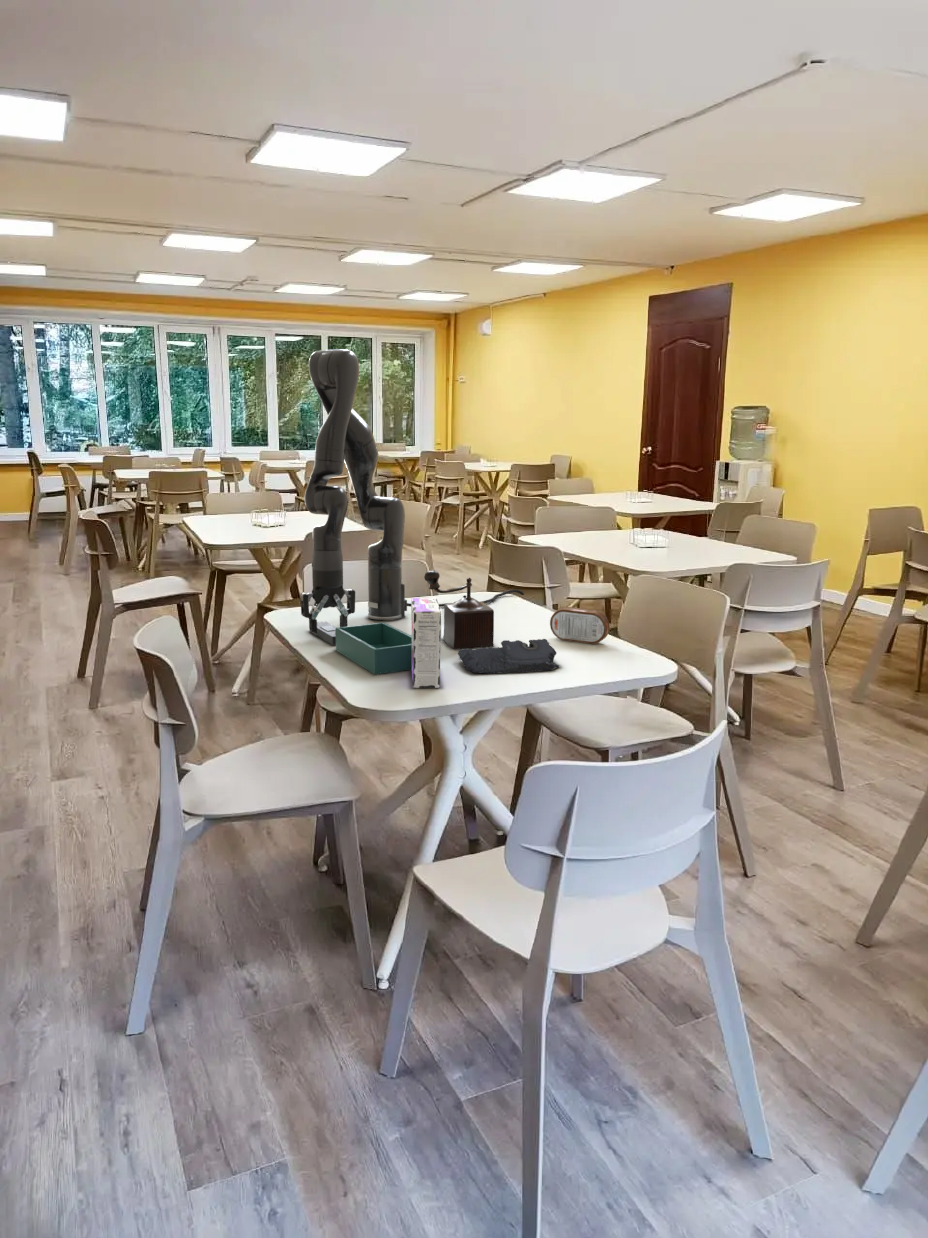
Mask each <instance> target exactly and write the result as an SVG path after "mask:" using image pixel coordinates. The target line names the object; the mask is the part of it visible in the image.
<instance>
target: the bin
mask: <svg viewBox="0 0 928 1238" xmlns="http://www.w3.org/2000/svg"><path fill="white" fill-rule="evenodd" d="M335 651H336V652H338V653H339V654H341V655H342V656H344V657H346V658H347V659H349V660H351V661H352V662H354V663H355V664H357V665H358V666H360V667H362V668H364V669H365V670H367V671H369V672H370V673H372V674H373V675H381V674H382V675H383V674H389V673H397V672H402V671H403V672H404V671H409V670H410V671H411V668H412V667H411V663H412V634H408V633H407V632H405V631H402V630H400V629H398V628H396V627H394V626H392V625H390V624H389V623H386V622H384V621H383V622H374V623H365V624H356V625H349V626H347V627H340V626H337V627H336V645H335Z"/></svg>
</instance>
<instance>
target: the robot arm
mask: <svg viewBox="0 0 928 1238" xmlns="http://www.w3.org/2000/svg"><path fill="white" fill-rule="evenodd" d="M308 371H309V376H310V379H311V382H312V384H313V387H314V389H315V391H316V393H317V395H318V398H319V399H320V402H321V404H322V406H323V408H324V410H325V412H326V414H327V417H326V419H325V421H324V422H323V424H322V426H321V427H320V430H319V431H318V434H317V438H316V441H315V450H314V465H313V468H312V471H311V474H310V477H309V480H308V483H307V486H306V489H305V492H304V504H305V508H306V509H307V511H308V512H309V513H310V514H313V515H323V516H327V520H326V522H325V523H321V524H316V525H315V526H314V527H313V528H312V554H311V555H312V556H311V571H312V575H311V576H312V590H311V592H303V591H302V592H300V593H299V599H300V600H299V601H300V615H301V616H302V617H304V618H306V619H308V629H309V632H310V631H311V632H310V633H311V634H312V635H315V634H317V622H318V619H317V618H318V616H319V614H320V613H321V612H322V610H323V609H328V608H336V609H337V610H338V612H339V627H347V626H348V625H349V623H348V618H349V615H352V614H354V613H355V612H356V590H354V589H352V588H347V589H344V558H343V551H342V531H343V528H344V523H345V519H346V515H347V511H348V509H349V497H348V494H347V491H346V490H345V489H344V488H343V487H341V486H337V485H336V486H335V485H327V484H328V483H329V480H330V479H331V478H336V477H340V476H341V475H342V474H343V472H344V464H345V467H346V468H347V471H348V476H349V479H350V481H351V485H352V488H353V491H354V496H355V500H356V504H357V508H358V512H359V515H360V519H361V522H362V524H363V525H364V527H365V528H366V529H368V530H370V531H376V532H377V531H378V532H382V539H381V540H379V541H378V542H374V543H371V544H370V545H369V546H368V548H367V572H368V573H367V579H368V580H367V591H368V592H367V594H368V595H367V596H368V598H367V607H368V609H367V611H368V613H367V618H368V619H370V620H374V621H383V622H384V621H385V622H386V621H387V622H388V621H397V620H401V619H403V618H405V617H406V612H408V607H411V602H410V603H409V602H408V599H406V595H405V592H406V591H405V589H406V588H405V587H406V586H405V583H403V575H402V574H403V573H402V571H403V564H402V563H403V561H402V560H403V559H402V558H403V556H402V555H403V548H404V543H405V525H406V511H405V510H406V509H405V506H404V503H403V500H401V499H400V498H397V497H390V496H379V495H378V494H377V492H376V489H375V485H374V480H373V478H374V474H375V470H376V468H377V464H378V460H379V450H378V446H377V442H376V440H375V439H376V438H375V436H374V434H373V430H372V428H371V427H370V425H369V424H368V423H367V422H366V420H365V419H364V418H363V417H362V416H361V415H360V414H359V413H358V412H357V411H356V410H355V409H354V408H353V407H354V402H355V397H356V393H357V388H358V384H359V379H360V363H359V360H358V356H357V355H356V353H355V352H353V351H352V350H350V349H320V350H315V351H314V352H312V353H311V355H310V357H309V360H308ZM512 593H518V594H520V595H521V596H524V595H525V593H524V592H523V591H522V590H520V589H510V590H507V591H503V592H501V593H497V594H495V595H494V596H493V597H492V598H489V599H486V600H482V601H480V602H483V603H485V604H488V603H491V602H494V601H495V600H496V599H497V598H500V597H503V596H506V595H509V594H512ZM344 596H345V598H346V606H345V605H344V603H343V601H342V600H343V597H344ZM311 599H313V600H314V602H313V604H312V606H311V610H310V604H309V602H311ZM438 604H439V608H444V603H438Z"/></svg>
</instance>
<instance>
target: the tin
mask: <svg viewBox="0 0 928 1238" xmlns="http://www.w3.org/2000/svg"><path fill="white" fill-rule="evenodd" d="M549 626H550V630H551V633H552V634H553V636H555V637H556V638H557V639H559V640H562V641H567V642H575V643H583V644H587V645H588V644H590V645H595V644H599V643H600V642H602V641H603V640H605V639H606V638H607V637H608V635H609V633H610V629H611V628H610V627H611V626H610V621H609V620H608V617H607V616H606V615H605V614H604V613H603V612H601V611H599V610H597V609H588V608H580V607H572V606H563V607H562V606H561V607H560V608H557V610H555V612H554V613H553V614H552V615H551V617H550V620H549Z"/></svg>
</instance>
